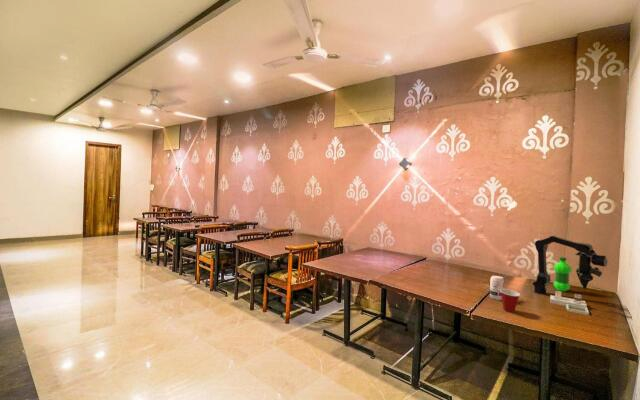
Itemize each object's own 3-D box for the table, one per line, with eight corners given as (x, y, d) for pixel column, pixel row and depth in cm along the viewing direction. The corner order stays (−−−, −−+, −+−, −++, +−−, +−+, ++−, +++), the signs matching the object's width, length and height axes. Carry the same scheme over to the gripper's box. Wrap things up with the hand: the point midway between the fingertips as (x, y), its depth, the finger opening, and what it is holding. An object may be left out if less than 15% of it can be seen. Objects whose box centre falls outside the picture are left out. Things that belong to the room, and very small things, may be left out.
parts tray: (567, 312, 188) (567, 308, 188) (566, 307, 196) (566, 303, 196) (588, 316, 182) (588, 312, 182) (586, 311, 190) (586, 307, 190)
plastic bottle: (568, 289, 232) (570, 257, 231) (571, 293, 223) (572, 259, 222) (552, 287, 237) (553, 255, 237) (553, 291, 229) (555, 258, 228)
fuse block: (550, 304, 201) (550, 299, 201) (550, 300, 209) (550, 294, 209) (586, 311, 190) (586, 305, 190) (584, 306, 198) (584, 300, 198)
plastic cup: (518, 315, 181) (519, 296, 181) (497, 310, 188) (498, 291, 188) (520, 310, 190) (521, 291, 189) (501, 306, 197) (501, 287, 196)
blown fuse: (574, 305, 196) (575, 295, 196) (574, 304, 199) (574, 293, 198) (580, 306, 194) (581, 296, 194) (580, 305, 197) (580, 294, 197)
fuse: (555, 302, 202) (555, 291, 202) (554, 300, 205) (555, 290, 204) (560, 303, 200) (561, 292, 200) (560, 301, 203) (561, 291, 203)
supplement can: (501, 297, 213) (502, 276, 212) (504, 301, 205) (505, 279, 205) (488, 295, 216) (489, 274, 215) (491, 299, 208) (492, 278, 207)
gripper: (604, 268, 186) (603, 293, 187) (598, 262, 201) (597, 285, 202) (580, 265, 192) (579, 289, 193) (576, 259, 208) (575, 282, 208)
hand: (583, 286), depth 199 cm, fingers open, 9 cm apart
